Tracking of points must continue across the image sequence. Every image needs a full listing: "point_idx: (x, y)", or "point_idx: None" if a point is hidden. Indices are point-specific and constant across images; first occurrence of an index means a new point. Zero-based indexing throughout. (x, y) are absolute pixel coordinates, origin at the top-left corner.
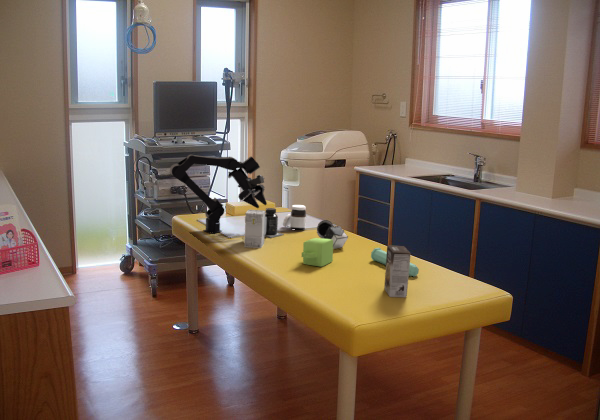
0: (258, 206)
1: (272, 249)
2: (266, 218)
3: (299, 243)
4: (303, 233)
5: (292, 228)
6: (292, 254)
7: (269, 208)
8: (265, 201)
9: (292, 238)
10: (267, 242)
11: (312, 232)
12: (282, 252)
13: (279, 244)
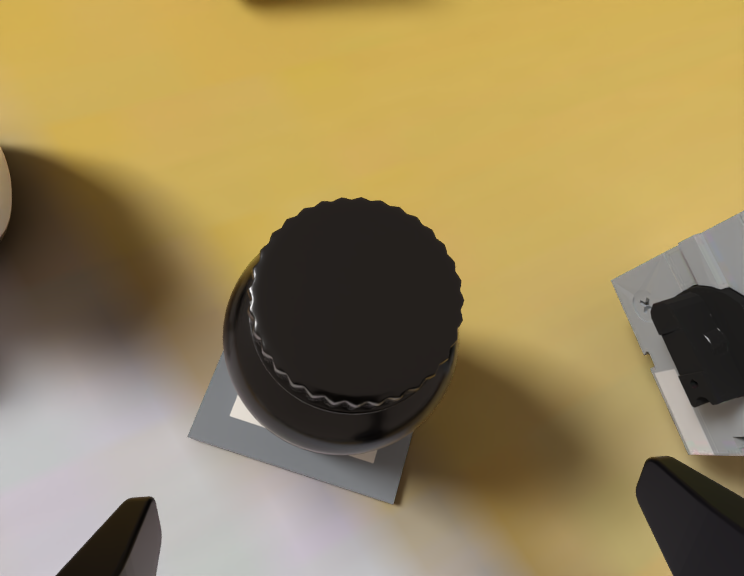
0: (690, 470)
1: (729, 166)
2: (740, 212)
3: (460, 57)
4: (100, 116)
5: (3, 235)
6: (731, 26)
7: (340, 334)
8: (122, 558)
9: (342, 144)
10: (591, 273)
11: (16, 59)
12: (740, 88)
13: (581, 170)
